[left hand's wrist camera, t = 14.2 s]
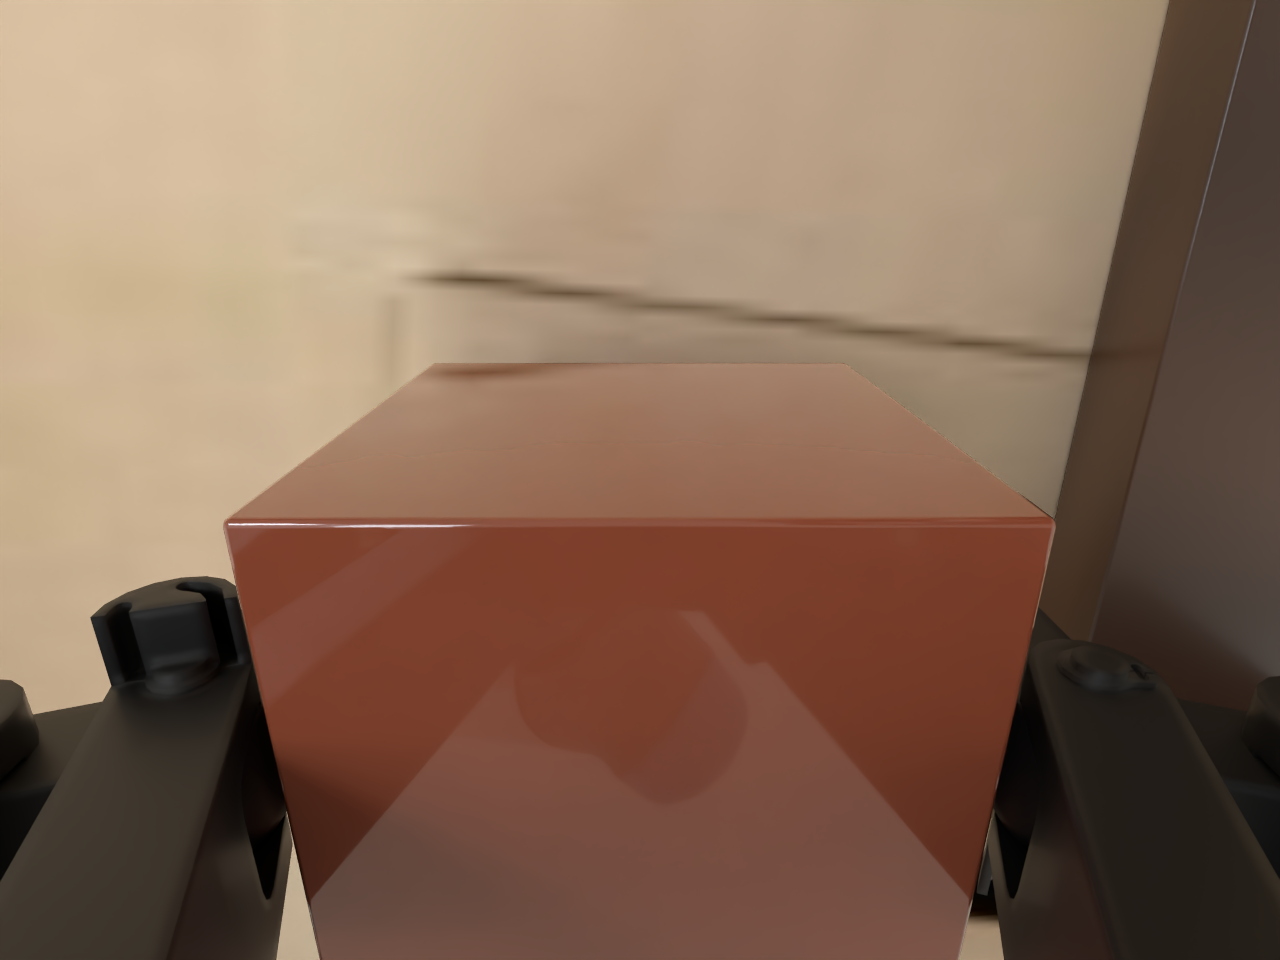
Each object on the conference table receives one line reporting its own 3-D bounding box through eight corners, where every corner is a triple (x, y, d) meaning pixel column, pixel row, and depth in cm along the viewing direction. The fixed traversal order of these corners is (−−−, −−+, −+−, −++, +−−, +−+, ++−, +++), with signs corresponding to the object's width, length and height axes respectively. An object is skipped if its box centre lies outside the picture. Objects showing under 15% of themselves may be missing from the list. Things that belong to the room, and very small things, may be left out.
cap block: (812, 705, 13) (937, 1066, 8) (467, 705, 13) (341, 1067, 8) (847, 362, 11) (1061, 520, 5) (431, 363, 11) (217, 520, 5)
